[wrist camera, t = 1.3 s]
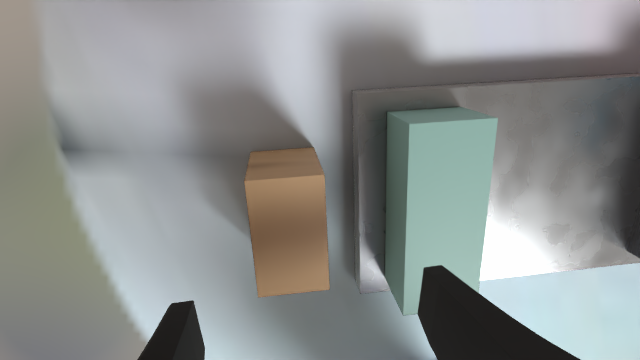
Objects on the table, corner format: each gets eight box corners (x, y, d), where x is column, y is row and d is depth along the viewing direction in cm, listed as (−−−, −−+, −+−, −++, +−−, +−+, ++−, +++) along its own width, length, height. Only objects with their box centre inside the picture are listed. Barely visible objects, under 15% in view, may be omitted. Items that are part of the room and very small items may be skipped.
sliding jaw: (448, 271, 23) (476, 307, 20) (385, 278, 23) (403, 315, 19) (461, 106, 20) (498, 117, 16) (387, 111, 19) (409, 124, 16)
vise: (637, 249, 26) (717, 292, 21) (355, 279, 24) (374, 334, 20) (685, 70, 22) (795, 75, 17) (351, 90, 20) (375, 102, 16)
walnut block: (318, 240, 23) (329, 289, 19) (261, 246, 23) (258, 297, 18) (313, 146, 21) (324, 174, 17) (250, 151, 21) (244, 181, 16)
